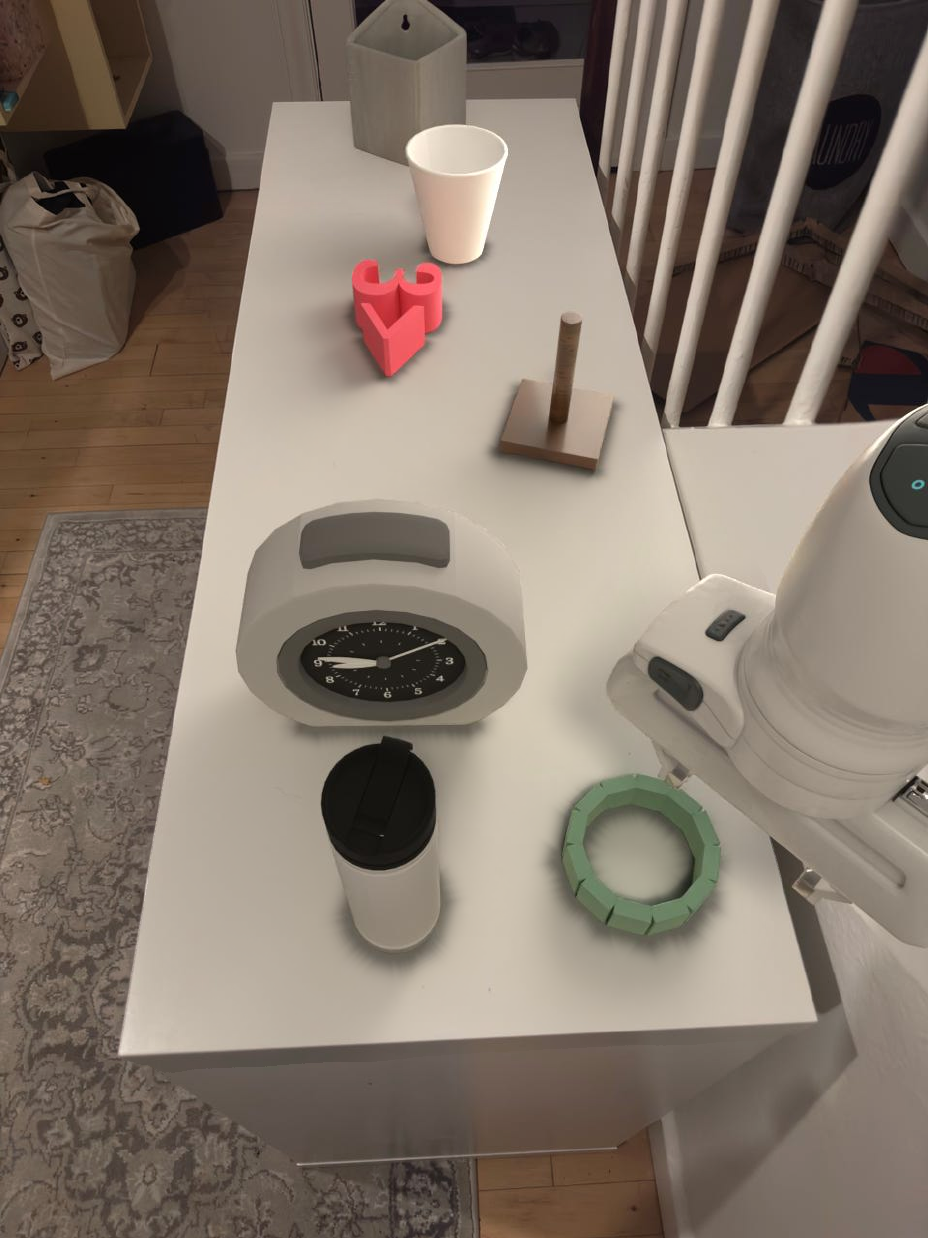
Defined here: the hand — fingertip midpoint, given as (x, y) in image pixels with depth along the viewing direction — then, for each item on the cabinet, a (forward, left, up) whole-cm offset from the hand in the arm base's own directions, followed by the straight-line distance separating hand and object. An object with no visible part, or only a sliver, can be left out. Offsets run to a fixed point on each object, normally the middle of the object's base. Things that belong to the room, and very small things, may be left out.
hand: (739, 830), depth 51 cm
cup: (+38, -76, -15) cm, 86 cm away
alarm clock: (+26, -12, -15) cm, 32 cm away
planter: (+50, -97, -15) cm, 110 cm away
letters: (+40, -57, -15) cm, 71 cm away
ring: (+4, -3, -14) cm, 15 cm away
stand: (+19, -47, -14) cm, 52 cm away
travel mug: (+20, +5, -15) cm, 25 cm away
